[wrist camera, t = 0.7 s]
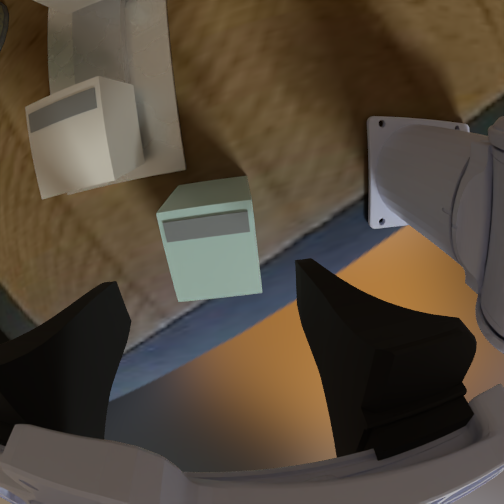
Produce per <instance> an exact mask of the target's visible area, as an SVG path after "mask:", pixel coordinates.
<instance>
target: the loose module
mask: <svg viewBox="0 0 504 504" xmlns="http://www.w3.org/2000/svg"><path fill="white" fill-rule="evenodd" d="M156 215H157V219H158V224H159V228H160V233H161V237H162V241H163V245H164V249H165V253H166V257H167V261H168V265H169V269H170V273H171V277H172V280H173V284H174V288H175V291H176V295H177V299H178V302H183V301H193V300H203V299H213V298H222V297H231V296H239V295H248V294H256V293H262V286H261V277H260V268H259V259H258V250H257V241H256V232H255V224H254V215H253V206H252V198H251V193H250V189H249V184H248V179H247V176H239V177H232V178H224V179H217V180H210V181H203V182H196V183H190V184H183V185H178V186H177V188H176V189H175V190H174V191H173V192H172V194H171V195H170V196H169V197H168V199H167V200H166V201H165V202H164V204H163V205H162V206H161V208H160V209H159V210H158V211H157V213H156Z"/></svg>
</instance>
